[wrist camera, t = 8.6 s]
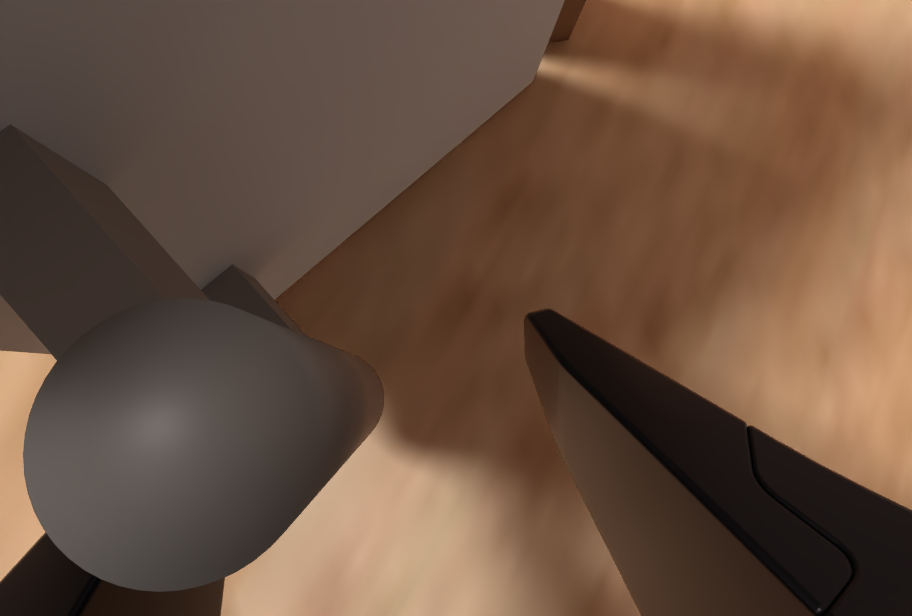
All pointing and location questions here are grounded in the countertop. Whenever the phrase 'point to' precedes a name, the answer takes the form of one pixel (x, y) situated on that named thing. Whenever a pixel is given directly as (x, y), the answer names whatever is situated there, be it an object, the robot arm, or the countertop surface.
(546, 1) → the door
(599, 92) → the countertop surface
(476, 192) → the countertop surface
